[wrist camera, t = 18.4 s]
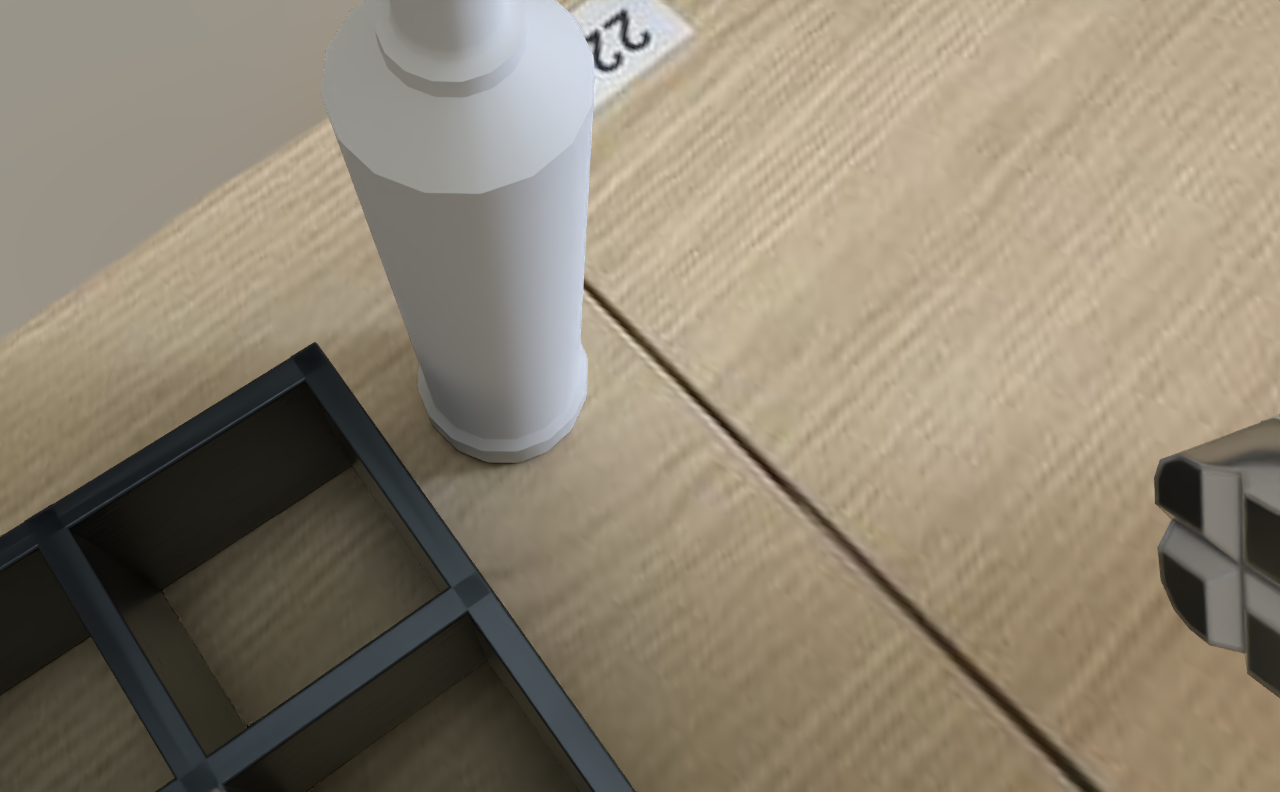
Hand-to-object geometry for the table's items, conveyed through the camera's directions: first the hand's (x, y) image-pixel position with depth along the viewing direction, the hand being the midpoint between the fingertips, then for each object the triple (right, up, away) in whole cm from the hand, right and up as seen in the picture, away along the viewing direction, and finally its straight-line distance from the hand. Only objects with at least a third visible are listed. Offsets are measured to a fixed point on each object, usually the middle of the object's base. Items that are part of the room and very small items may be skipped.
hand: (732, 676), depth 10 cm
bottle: (-5, +2, +29) cm, 29 cm away
